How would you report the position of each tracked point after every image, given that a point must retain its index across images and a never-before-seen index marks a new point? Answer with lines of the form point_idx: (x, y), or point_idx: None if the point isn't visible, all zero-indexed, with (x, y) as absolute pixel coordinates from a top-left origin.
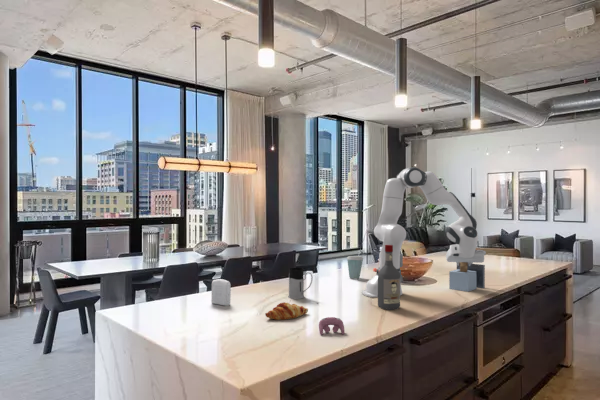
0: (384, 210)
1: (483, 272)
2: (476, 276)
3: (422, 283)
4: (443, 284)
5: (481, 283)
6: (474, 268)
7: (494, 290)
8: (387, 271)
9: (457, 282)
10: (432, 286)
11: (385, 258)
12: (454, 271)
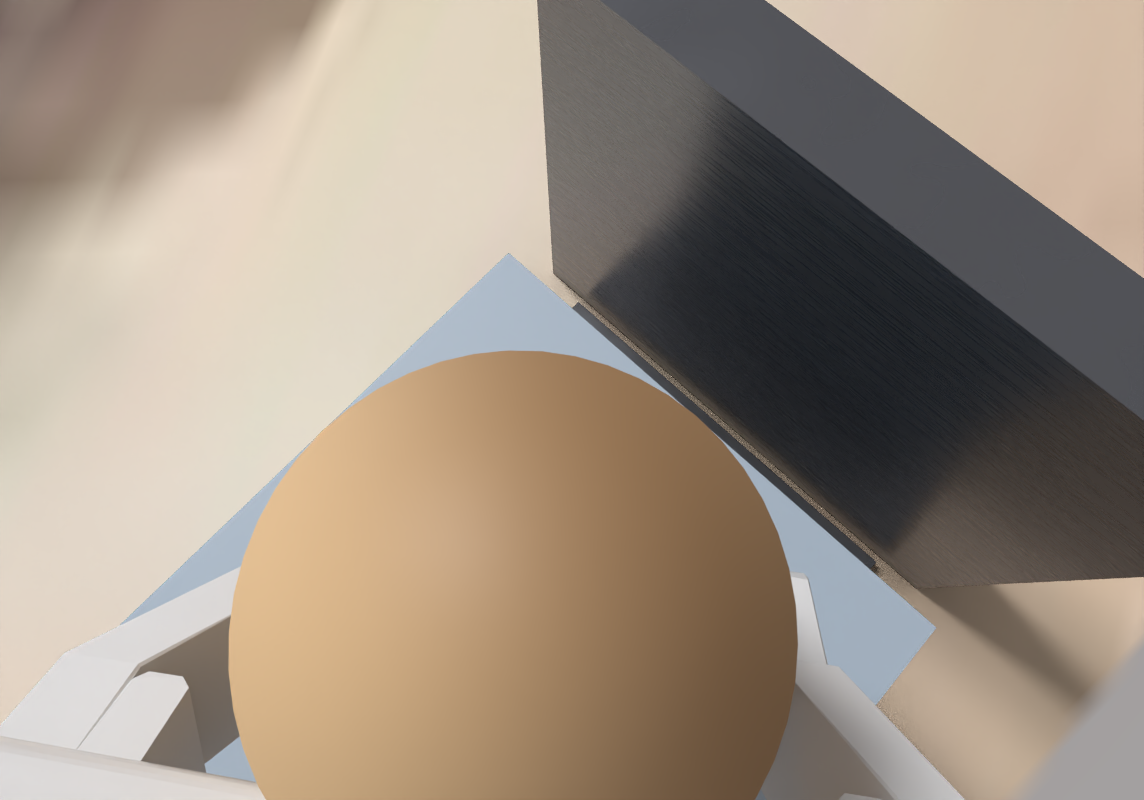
0: None
1: (1135, 572)
2: (907, 466)
3: (55, 119)
4: (369, 185)
5: (936, 557)
6: (959, 383)
7: (1095, 664)
8: None
9: None
10: (114, 349)
11: None
12: None
